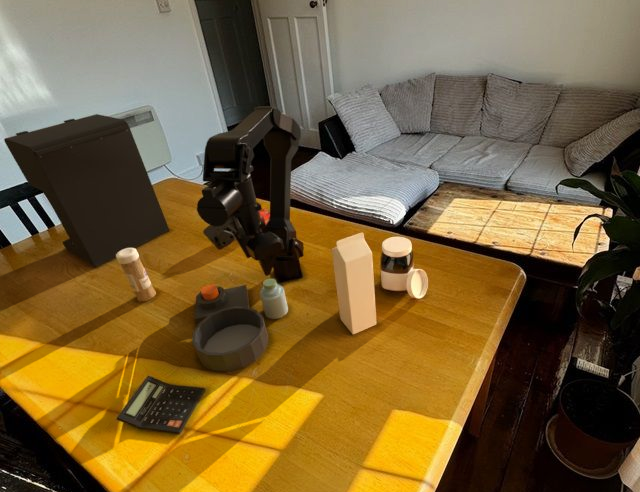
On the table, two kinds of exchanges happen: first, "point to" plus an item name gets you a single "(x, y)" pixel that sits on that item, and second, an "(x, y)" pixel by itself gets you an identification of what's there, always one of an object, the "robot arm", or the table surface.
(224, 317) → the bottle warmer
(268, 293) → the bottle
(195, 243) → the table surface
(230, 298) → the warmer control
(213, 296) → the stop button
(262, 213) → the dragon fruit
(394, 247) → the spread jar
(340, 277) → the milk
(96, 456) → the table surface
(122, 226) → the dark brown slanted box
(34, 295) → the table surface
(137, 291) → the sprinkles bottle
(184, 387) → the calculator
